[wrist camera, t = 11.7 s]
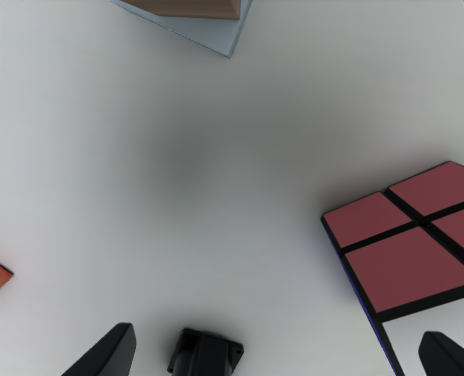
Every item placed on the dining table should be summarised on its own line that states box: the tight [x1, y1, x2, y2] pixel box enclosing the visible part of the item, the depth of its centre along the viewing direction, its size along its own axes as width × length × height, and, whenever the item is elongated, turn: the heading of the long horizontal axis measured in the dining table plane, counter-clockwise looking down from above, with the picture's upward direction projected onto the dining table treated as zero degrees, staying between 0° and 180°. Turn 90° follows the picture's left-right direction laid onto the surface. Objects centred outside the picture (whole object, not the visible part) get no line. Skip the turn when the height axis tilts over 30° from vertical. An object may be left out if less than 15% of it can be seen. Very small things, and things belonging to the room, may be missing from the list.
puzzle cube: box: [321, 162, 464, 376], centre depth 17 cm, size 10×10×10 cm
